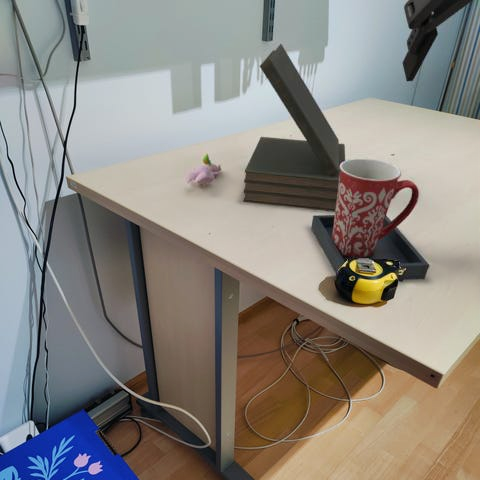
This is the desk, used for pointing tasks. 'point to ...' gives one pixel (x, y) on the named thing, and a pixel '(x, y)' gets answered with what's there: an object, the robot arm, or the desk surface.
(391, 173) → the mug
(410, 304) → the desk surface
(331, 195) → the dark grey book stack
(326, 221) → the tray
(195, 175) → the pink toy figure
